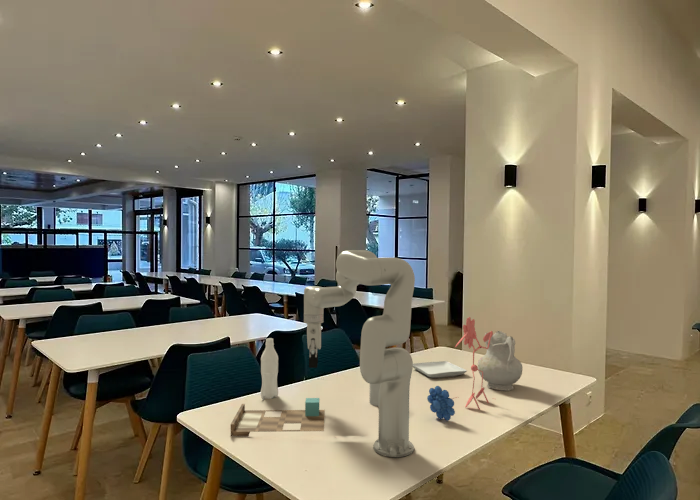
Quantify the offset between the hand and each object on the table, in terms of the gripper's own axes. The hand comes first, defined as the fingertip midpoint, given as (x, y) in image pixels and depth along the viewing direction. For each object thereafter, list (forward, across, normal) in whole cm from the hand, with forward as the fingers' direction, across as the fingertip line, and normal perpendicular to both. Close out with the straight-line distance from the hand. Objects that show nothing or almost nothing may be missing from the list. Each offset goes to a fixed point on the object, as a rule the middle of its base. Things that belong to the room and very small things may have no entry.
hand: (313, 364), depth 181 cm
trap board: (+18, -14, +11) cm, 25 cm away
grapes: (+18, -11, -46) cm, 51 cm away
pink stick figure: (+18, +7, -62) cm, 65 cm away
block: (+16, -8, 0) cm, 18 cm away
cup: (+18, +8, -26) cm, 33 cm away
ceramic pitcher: (+18, +27, -84) cm, 90 cm away
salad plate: (+18, +52, -60) cm, 82 cm away
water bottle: (+18, +13, +18) cm, 29 cm away
